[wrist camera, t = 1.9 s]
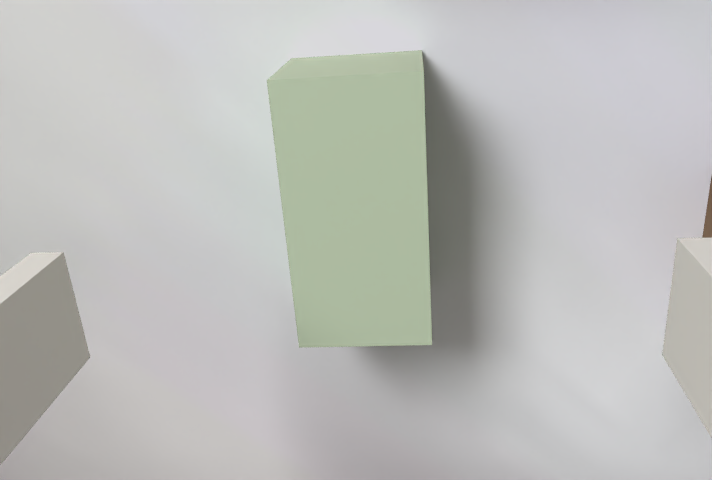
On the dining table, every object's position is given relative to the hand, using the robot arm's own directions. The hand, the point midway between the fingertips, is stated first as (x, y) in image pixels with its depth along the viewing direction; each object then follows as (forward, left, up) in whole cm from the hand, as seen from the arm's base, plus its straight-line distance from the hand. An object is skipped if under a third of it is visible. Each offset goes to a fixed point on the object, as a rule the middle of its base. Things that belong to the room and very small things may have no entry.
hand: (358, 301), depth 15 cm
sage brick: (0, 0, -8) cm, 8 cm away
